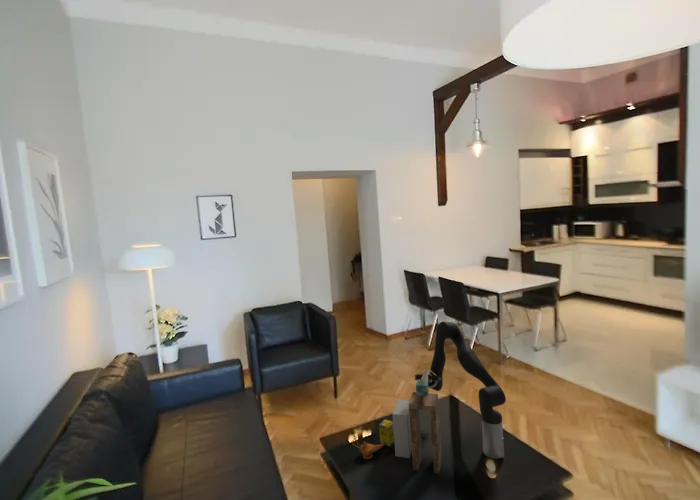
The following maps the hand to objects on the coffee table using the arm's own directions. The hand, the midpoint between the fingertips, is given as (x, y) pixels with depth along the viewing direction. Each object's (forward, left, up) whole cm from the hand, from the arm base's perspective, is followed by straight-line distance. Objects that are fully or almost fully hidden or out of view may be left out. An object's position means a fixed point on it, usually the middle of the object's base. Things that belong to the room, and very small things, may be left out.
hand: (425, 376), depth 184 cm
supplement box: (+22, -2, -39) cm, 45 cm away
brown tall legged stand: (0, +10, -39) cm, 40 cm away
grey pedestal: (+13, +1, -39) cm, 41 cm away
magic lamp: (+28, +10, -39) cm, 49 cm away
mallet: (0, +3, -3) cm, 4 cm away
